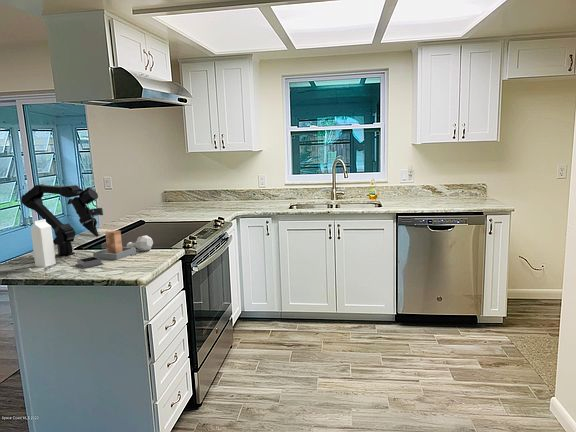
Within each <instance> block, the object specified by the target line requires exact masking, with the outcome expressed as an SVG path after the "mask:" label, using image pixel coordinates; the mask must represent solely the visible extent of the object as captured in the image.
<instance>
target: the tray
mask: <svg viewBox="0 0 576 432" xmlns="http://www.w3.org/2000/svg"><path fill="white" fill-rule="evenodd" d="M122 251H123V252H120V253H117V254H112V253H107V248H104V249H101V250H98V251H94V252H93V253H92V255H93V256H95V257H97V258H100V259H101V260H111V261H114V260H115V261H118V260H121V259H124V258H126V257H129V256H130V257H133V256H136V255H137V247H127V246H122ZM135 254H136V255H135ZM132 255H133V256H132ZM93 256H92V257H93Z"/></svg>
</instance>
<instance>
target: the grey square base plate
mask: <svg viewBox="0 0 576 432" xmlns="http://www.w3.org/2000/svg"><path fill="white" fill-rule="evenodd" d="M76 263H77V264H74V266H75V267H77V268H79V269H81V270H84V269H89V268H95V267H97V266H103V265H105V263H103V262H102V259H100V258H97V257H95V256H89V257H84V258H79V259H76Z"/></svg>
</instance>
